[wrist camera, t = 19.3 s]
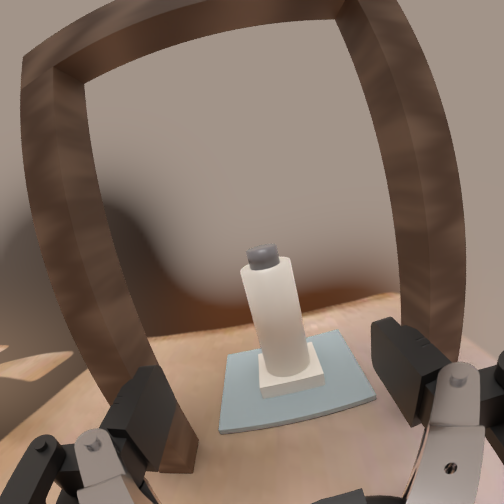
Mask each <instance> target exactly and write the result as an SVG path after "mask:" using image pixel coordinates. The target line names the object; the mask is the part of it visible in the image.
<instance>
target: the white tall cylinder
mask: <svg viewBox="0 0 504 504" xmlns="http://www.w3.org/2000/svg"><path fill="white" fill-rule="evenodd" d="M246 253H247V257H248V261H249V264H248V265H246V266H244V267H243V268H242V269H241V270H240V273H241V276H242V280H243V284H244V288H245V291H246V295H247V299H248V303H249V306H250V310H251V314H252V317H253V321H254V325H255V328H256V332H257V336H258V339H259V343H260V347H261V350H262V353H261V354H258V362H259V386H260V391H261V394H262V397H263V399H266V398H271V397H276V396H281V395H286V394H291V393H295V392H299V391H304V390H308V389H312V388H316V387H320V386H323V385H325V378H324V373H323V370H322V367H321V365H320V362H319V359H318V357H317V354H316V351H315V349H314V346H313V344H312V342H308V343H307V341H306V336H305V330H304V325H303V320H302V315H301V310H300V305H299V300H298V295H297V290H296V285H295V280H294V275H293V271H292V266H291V261H290V259H289V258H288V257H279V255H278V251H277V247H276V244H265V245H261V246H257V247H254V248H251V249H249V250H247V251H246Z"/></svg>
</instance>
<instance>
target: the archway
mask: <svg viewBox="0 0 504 504" xmlns="http://www.w3.org/2000/svg"><path fill="white" fill-rule="evenodd" d="M327 19H335V21H336V23H337V25H338V27H339V29H340V32H341V34H342V36H343V39H344V41H345V43H346V46H347V48H348V51H349V53H350V55H351V58H352V61H353V63H354V66H355V68H356V72H357V74H358V77H359V80H360V83H361V86H362V89H363V92H364V95H365V98H366V101H367V104H368V107H369V111H370V114H371V117H372V121H373V124H374V128H375V132H376V136H377V139H378V143H379V147H380V152H381V156H382V160H383V165H384V169H385V174H386V179H387V184H388V189H389V195H390V201H391V206H392V213H393V220H394V228H395V235H396V244H397V253H398V264H399V277H400V295H401V326H404V325H407V326H410V327H412V328H415V329H417V330H418V331H419V332H420V333H422V334H423V335H424V337H425V338H427V339H428V340H429V341H430V342H431V344H433V345H434V346H435V347H436V348H438V349H439V350H440V351H441V352H442V353H443V354H444V355H445V356H446V357H447V358H448V359H449V360H450V361H451V362H452V363H454V362H457V361H458V355H459V349H460V343H461V335H462V327H463V317H464V306H465V289H466V240H465V223H464V211H463V203H462V193H461V186H460V180H459V173H458V167H457V162H456V157H455V152H454V147H453V143H452V139H451V135H450V130H449V127H448V123H447V119H446V115H445V112H444V109H443V105H442V102H441V99H440V96H439V93H438V90H437V87H436V84H435V81H434V78H433V76H432V73H431V70H430V68H429V65H428V64H427V60H426V58H425V56H424V53H423V51H422V49H421V47H420V44H419V42H418V40H417V38H416V36H415V34H414V32H413V30H412V28H411V26H410V24H409V22H408V20H407V18H406V16H405V14H404V12H403V11H402V9H401V7H400V5H399V4H398V2H397V0H115V1H113V2H111V3H109V4H106V5H104V6H102V7H100V8H98V9H96V10H94V11H93V12H91V13H89V14H87V15H85V16H83V17H82V18H80V19H78V20H76V21H75V22H73V23H71V24H70V25H68V26H66V27H65V28H63V29H61V30H60V31H58V32H57V33H55V34H54V35H53V36H51V37H49V38H48V39H46V40H45V41H44V42H42V43H41V44H39V45H38V46H37V47H35V48H34V49H33V50H31V51H30V52H29V53H27V54H26V55H25V56H24V57H23V62H22V74H21V95H20V118H21V139H22V140H21V141H22V153H23V163H24V171H25V179H26V186H27V191H28V197H29V203H30V208H31V213H32V217H33V222H34V226H35V231H36V235H37V239H38V243H39V246H40V250H41V253H42V257H43V260H44V263H45V267H46V269H47V273H48V276H49V279H50V282H51V285H52V287H53V290H54V293H55V296H56V298H57V301H58V304H59V306H60V309H61V311H62V314H63V316H64V319H65V321H66V323H67V325H68V328H69V330H70V332H71V335H72V337H73V339H74V341H75V343H76V345H77V347H78V349H79V351H80V353H81V355H82V357H83V359H84V361H85V363H86V365H87V367H88V369H89V371H90V372H91V374H92V376H93V378H94V380H95V381H96V383H97V385H98V387H99V388H100V390H101V392H102V393H103V395H104V397H105V398H106V400H107V402H108V403H109V405H110V406H111V405H113V401H114V400H115V398H117V394H118V393H119V391H120V389H121V387H122V386H123V385H124V384H126V383H127V382H128V381H129V380H130V379H133V377H134V375H135V373H136V372H137V370H138V368H139V367H140V366H149V365H159V364H158V362H157V360H156V357H155V355H154V353H153V351H152V348H151V346H150V344H149V341H148V339H147V337H146V334H145V332H144V330H143V327H142V325H141V322H140V320H139V317H138V315H137V312H136V310H135V307H134V304H133V302H132V299H131V296H130V293H129V291H128V288H127V285H126V282H125V279H124V276H123V273H122V270H121V267H120V264H119V260H118V257H117V254H116V251H115V248H114V244H113V240H112V237H111V233H110V230H109V226H108V223H107V218H106V215H105V211H104V206H103V202H102V198H101V194H100V189H99V185H98V180H97V175H96V170H95V164H94V159H93V153H92V147H91V141H90V134H89V127H88V119H87V110H86V100H85V90H84V84H85V83H86V82H88V81H90V80H92V79H94V78H96V77H98V76H100V75H102V74H104V73H106V72H108V71H110V70H112V69H115V68H117V67H119V66H121V65H124V64H126V63H128V62H131V61H133V60H135V59H138V58H140V57H143V56H145V55H148V54H151V53H153V52H156V51H159V50H162V49H165V48H168V47H171V46H173V45H177V44H180V43H183V42H187V41H190V40H194V39H197V38H201V37H205V36H209V35H213V34H217V33H221V32H225V31H230V30H235V29H240V28H246V27H252V26H258V25H265V24H272V23H280V22H291V21H303V20H327ZM175 400H176V398H175ZM198 441H199V439H198V438H197V436H196V434H195V433H194V431H193V429H192V428H191V426H190V424H189V422H188V421H187V419H186V417H185V415H184V413H183V412H182V410H181V408H180V406H179V404H178V402H177V400H176V410H175V413H174V417H173V420H172V423H171V427H170V430H169V434H168V437H167V441H166V445H165V448H164V452H163V455H162V459H161V463H160V466H159V470H158V471H159V472H161V473H193V469H194V463H195V458H196V452H197V447H198Z"/></svg>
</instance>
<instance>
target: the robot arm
mask: <svg viewBox="0 0 504 504" xmlns="http://www.w3.org/2000/svg"><path fill="white" fill-rule="evenodd" d="M371 358H372V363H373V367H374V369H375V371H376V373H377V374H378V376H379V377H380V379H381V381H382V382H383V384H384V385H385V387H386V388H387V390H388V391H389V393H390V395H391V396H392V398H393V399H394V401H395V403H396V404H397V406H398V407H399V409H400V411H401V412H402V414H403V415H404V417H405V419H406V420H407V422H408V423H409V425H410V427H411V428H412V427H414V426H416V425H418V424H421V423H422V424H423V426H424V427H425V429H424V432H423V436H422V440H421V443H420V447H419V450H418V454H417V457H416V460H415V463H414V466H413V469H412V472H411V475H410V478H409V480H408V483H407V485H406V488H405V490H404V492H403V495H402V497H401V498H400V497H394V496H382V495H379V496H364V493H363V490H362V488H361V489H358V490H355V491H351V492H348V493H345V494H341V495H337V496H333V497H329V498H325V499H321V500H319V501H317V502H314V503H312V504H474V503H475V498H476V494H477V489H478V484H479V479H480V473H481V466H482V459H483V450H484V440H485V437H486V438H487V440H488V441H489V443H490V444H491V446H492V447H493V449H494V450H495V452H496V454H497V455H498V457H499V458H500V460H501V461H502V463H503V465H504V351H503V352H502V353H501V354H500V356H499V359H498V362H497V365H495V366H491V367H488V368H484V369H480V370H477V369H476V368H475V367H474V366H473V365H471V364H469V363H465V362H454V363H452V362H451V361H450V360H449V359H448V358H447V357H446V356H445V355H444V354H443V353H442V352H441V351H440V350H439V349H438V348H436V347H435V346H434V345H433V344H431V342H430V341H429V340H428V339H427V338H425V337H424V335H423V334H422V333H420V332H419V331H418V330H417V329H415V328H412V327H410V326H407V325H404V326H401V325H400V324H398V323H397V322H396V321H395V320H394V319H393V318H392V317H388V318H384V319H381V320H378V321H375V322H372V324H371ZM175 410H176V400H175V396H174V394H173V391H172V389H171V387H170V385H169V383H168V381H167V379H166V377H165V375H164V372H163V370H162V368H161V367H160V366H159V365H149V366H140V367H139V368H138V370H137V372H136V373H135V375H134V377H133V379H130V380H129V381H128V382H127V383H126V384H124V385H123V386H122V387H121V389H120V391H119V393H118V394H117V398H115V400H114V401H113V405H111V407H110V409H109V411H108V412H107V414H106V416H105V418H104V420H103V421H102V423H101V425H100V427H99V429H98V428H97V429H91V430H88V431H86V432H84V433H82V434H81V435H80V436H79V437H78V438H77V440H76V442H75V444H67V445H60V444H59V442H58V441H57V440H56V439H55V437H53V436H52V435H41V436H39V437H37V438H36V439H34V440H33V441H32V442H31V444H30V445H29V447H28V448H27V450H26V452H25V453H24V455H23V457H22V458H21V460H20V462H19V464H18V465H17V467H16V469H15V470H14V472H13V474H12V476H11V478H10V479H9V481H8V483H7V485H6V487H5V489H4V490H3V492H2V494H1V496H0V504H46V497H47V495H48V492H49V490H50V488H51V486H52V483H53V481H54V482H55V483H56V484H57V485H58V486H60V487H61V488H62V490H61V492H60V495H59V497H58V499H57V502H56V504H161V502H160V501H159V499H158V498H157V496H156V494H155V493H154V491H153V489H152V488H151V486H150V484H149V483H148V481H147V480H146V478H145V477H144V475H145V472H146V471H152V472H158V470H159V466H160V463H161V459H162V455H163V452H164V448H165V445H166V441H167V437H168V434H169V430H170V427H171V423H172V420H173V417H174V413H175Z"/></svg>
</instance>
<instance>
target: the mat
mask: <svg viewBox="0 0 504 504" xmlns="http://www.w3.org/2000/svg"><path fill="white" fill-rule="evenodd" d="M306 341H307V343H308V342H312V344H313V346H314V349H315V351H316V354H317V357H318V359H319V362H320V365H321V367H322V370H323V373H324V378H325V385H323V386H320V387H316V388H312V389H308V390H304V391H299V392H295V393H291V394H286V395H281V396H276V397H271V398H266V399H263V397H262V394H261V391H260V386H259V362H258V354H261V353H262V350H261V348H260V349H255V350H250V351H245V352H240V353H235V354H229V355H228V357H227V365H226V373H225V381H224V389H223V397H222V405H221V413H220V421H219V432H220V434H229V433H237V432H245V431H252V430H258V429H264V428H270V427H276V426H281V425H286V424H291V423H295V422H300V421H304V420H309V419H313V418H317V417H321V416H324V415H328V414H332V413H335V412H339V411H342V410H345V409H349V408H352V407H355V406H358V405H361V404H364V403H367V402H370V401H373V400H376V393H375V392H374V390H373V388H372V386H371V385H370V383H369V381H368V379H367V378H366V376H365V374H364V373H363V371H362V369H361V367H360V366H359V364H358V362H357V361H356V359H355V357H354V355H353V354H352V352H351V350H350V349H349V347H348V345H347V344H346V342H345V340H344V339H343V337H342V335H341V334H340V332H339V330H338V329H337V330H333V331H330V332H326V333H322V334H319V335H315V336H311V337H307V338H306Z"/></svg>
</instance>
